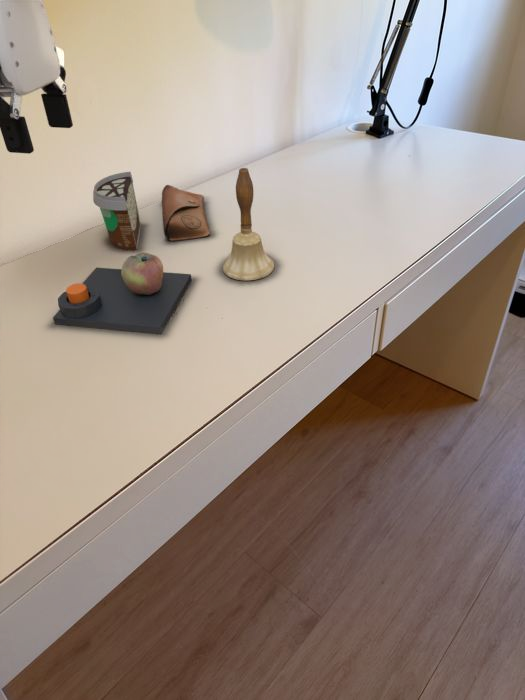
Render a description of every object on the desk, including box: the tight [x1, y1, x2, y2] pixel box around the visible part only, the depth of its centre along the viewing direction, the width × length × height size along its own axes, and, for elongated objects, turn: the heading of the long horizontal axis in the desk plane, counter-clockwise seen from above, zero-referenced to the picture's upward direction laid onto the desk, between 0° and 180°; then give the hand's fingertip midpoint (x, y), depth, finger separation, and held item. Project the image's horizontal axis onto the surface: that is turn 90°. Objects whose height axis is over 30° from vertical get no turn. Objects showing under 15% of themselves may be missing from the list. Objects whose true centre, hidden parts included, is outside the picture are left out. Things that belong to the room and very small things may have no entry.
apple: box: [121, 251, 164, 295], centre depth 76 cm, size 6×8×6 cm
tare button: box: [65, 282, 89, 304], centre depth 74 cm, size 3×3×2 cm
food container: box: [92, 171, 142, 251], centre depth 92 cm, size 12×6×10 cm, turn 6°
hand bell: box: [222, 167, 275, 282], centre depth 80 cm, size 8×8×16 cm
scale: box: [52, 267, 193, 335], centre depth 78 cm, size 16×14×3 cm
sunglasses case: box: [161, 184, 211, 242], centre depth 99 cm, size 18×7×7 cm
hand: (42, 138), depth 66 cm, fingers open, 9 cm apart
